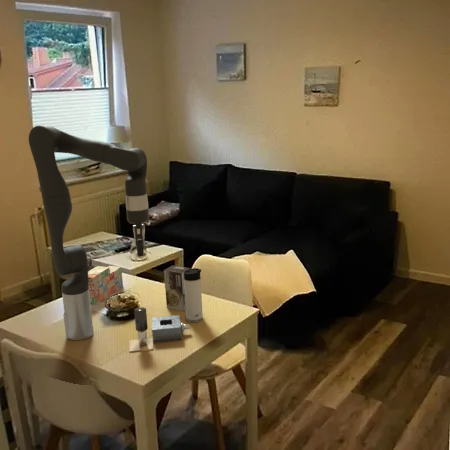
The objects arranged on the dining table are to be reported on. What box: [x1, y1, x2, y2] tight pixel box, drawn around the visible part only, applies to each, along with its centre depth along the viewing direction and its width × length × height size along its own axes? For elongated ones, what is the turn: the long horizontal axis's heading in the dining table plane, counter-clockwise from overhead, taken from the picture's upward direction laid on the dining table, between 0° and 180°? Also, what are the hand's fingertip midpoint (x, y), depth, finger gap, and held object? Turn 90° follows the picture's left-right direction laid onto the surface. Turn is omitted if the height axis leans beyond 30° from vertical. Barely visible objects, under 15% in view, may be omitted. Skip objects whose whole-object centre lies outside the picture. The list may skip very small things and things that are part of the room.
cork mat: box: [128, 337, 154, 353], centre depth 184 cm, size 8×8×1 cm
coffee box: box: [163, 265, 192, 312], centre depth 212 cm, size 9×6×16 cm
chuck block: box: [151, 314, 191, 344], centre depth 190 cm, size 13×10×5 cm
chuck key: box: [133, 306, 148, 346], centre depth 182 cm, size 4×4×13 cm
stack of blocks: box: [88, 265, 124, 305], centre depth 228 cm, size 21×6×12 cm, turn 159°
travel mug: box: [184, 268, 204, 323], centre depth 200 cm, size 6×7×20 cm
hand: (140, 252), depth 187 cm, fingers open, 8 cm apart
